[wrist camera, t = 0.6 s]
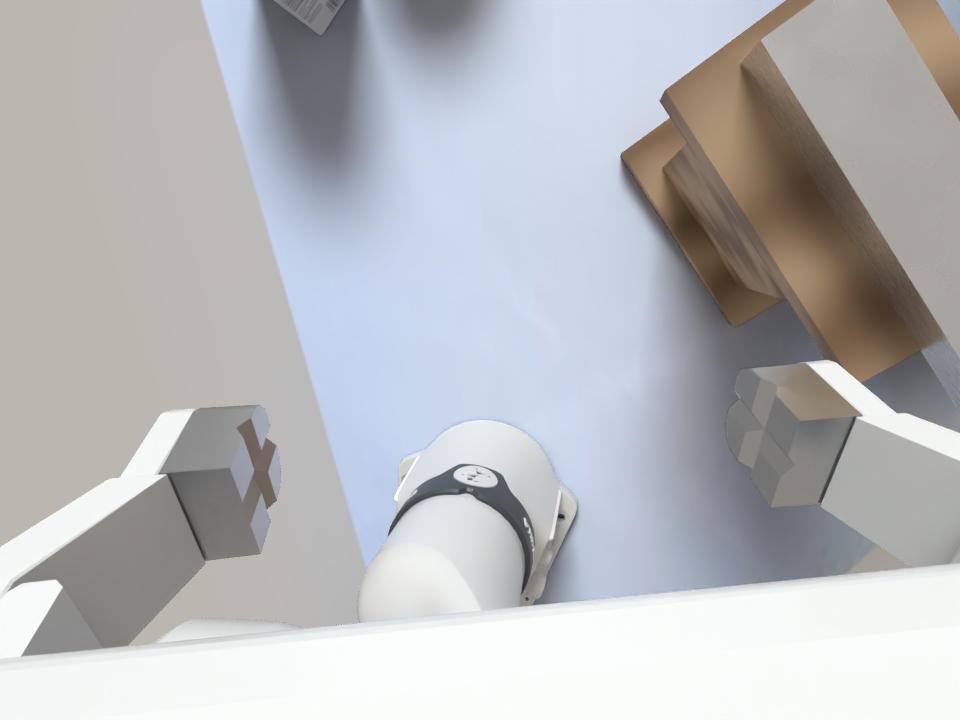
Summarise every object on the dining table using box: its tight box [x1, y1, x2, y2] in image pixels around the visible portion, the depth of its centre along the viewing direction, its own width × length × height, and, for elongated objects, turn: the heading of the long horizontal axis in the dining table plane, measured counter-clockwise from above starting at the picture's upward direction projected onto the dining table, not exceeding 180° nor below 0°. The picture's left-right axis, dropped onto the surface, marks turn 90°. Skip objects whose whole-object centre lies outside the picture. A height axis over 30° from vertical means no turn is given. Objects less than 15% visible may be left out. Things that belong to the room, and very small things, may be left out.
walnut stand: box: [620, 0, 960, 383], centre depth 37 cm, size 18×10×26 cm, turn 35°
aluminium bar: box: [740, 0, 960, 412], centre depth 23 cm, size 24×4×3 cm, turn 35°
